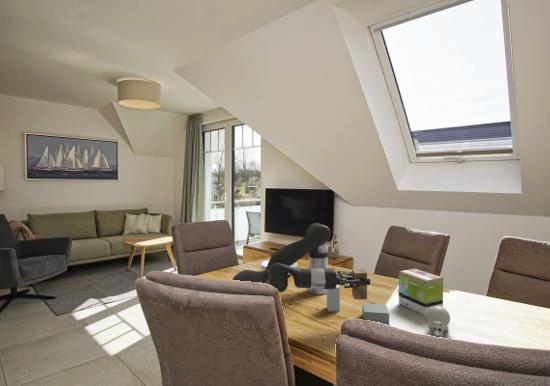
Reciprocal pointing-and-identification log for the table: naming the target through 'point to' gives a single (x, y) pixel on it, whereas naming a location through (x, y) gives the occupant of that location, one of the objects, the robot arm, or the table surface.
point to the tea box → (420, 290)
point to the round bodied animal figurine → (438, 320)
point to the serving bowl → (265, 263)
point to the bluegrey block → (333, 299)
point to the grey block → (375, 312)
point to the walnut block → (362, 290)
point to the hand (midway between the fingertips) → (367, 279)
